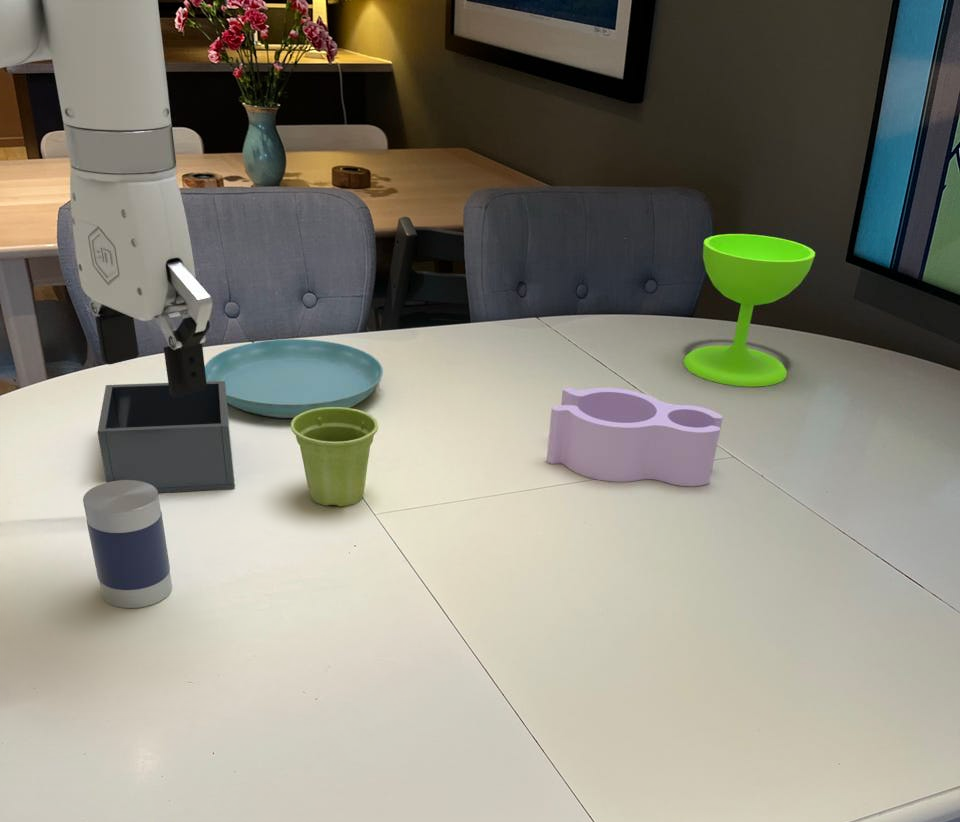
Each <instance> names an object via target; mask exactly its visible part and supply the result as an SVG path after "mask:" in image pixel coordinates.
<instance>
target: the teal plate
mask: <svg viewBox="0 0 960 822" xmlns="http://www.w3.org/2000/svg"><path fill="white" fill-rule="evenodd" d="M204 365H205V374H206V382H207V381H225V385H226V395H227V404H229V405H231V406H232V407H235V408H237V409H238V410H242V411H243V412H248V413H251V414H254V415H258V416H263V417H270V418H279V419H294V418H295V417H296V416H298V415H299V414H301V413H303V412H306V411H309V410H312V409H317V408H325V407H343V408H353V407H354V406H356V405H358V404H359V403H361V402H362V401H364V400H365V399H366V398H368V397H369V396H370V395H371V394H372V393H373V392H374V391H375V389H376V388H377V387H378V385H379V384H380V382H381V380H382V377H383V375H384V369H383V366H382V363H380V361H379V360H378V359H376V358H375V357H374V356H373V355H372V354H370V353H367V352H366V351H364V350H362V349H359V348H357V347H354V346H350V345H346V344H342V343H338V342H332V341H326V340H317V339H304V338H303V339H302V338H301V339H300V338H285V339H284V338H282V339H271V340H263V341H256V342H250V343H246V344H240V345H238V346H234V347H231V348H229V349H226V350H224V351H221V352H220V353H219V352H218V354H216V355H214V356H213V357H211V358H210V359H209V360H208V361H207V362H206V363H205V364H204Z"/></svg>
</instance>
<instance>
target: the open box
mask: <svg viewBox="0 0 960 822" xmlns="http://www.w3.org/2000/svg"><path fill="white" fill-rule="evenodd" d="M206 383H207V386H206V388H205V389H204V390H201V391H198V392H194V393H191V394H188V395H184V396H181V397H174V396H172V395H171V394H170V392H169V384H168V382H155V383H153V382H151V383H127V384H126V383H125V384H124V383H123V384H106V385H105V388H104V394H103V399H102V404H101V410H100V416H99V422H98V427H97V437H98V443H99V449H100V454H101V460H102V464H103V470H104V471H103V472H104V475H105V476H104V477H105V483H107V482H112V481H119V480H136V481H142V482H146V483H148V484H151V485H152V486H154V487H155V488H156V489H157V491H158V494H164V493H166V494H167V493H179V492H180V493H182V492H199V491H217V490H235V489H236V484H235V472H234V460H233V459H234V458H233V448H232V435H231V426H230V417H229V406H228V403H227V395H226V385H225V381H207V382H206Z"/></svg>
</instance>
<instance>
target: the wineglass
mask: <svg viewBox="0 0 960 822" xmlns="http://www.w3.org/2000/svg"><path fill="white" fill-rule="evenodd" d="M702 247H703V248H702V251H703V252H702V260H703V264H704V268H705V272H706V274H707V275H708V277H709V280H710V281H711V283H712V286H713V287H714V288H715V289H716V290H717V291H719V293H721V295H722V296H723V297H725V298H727V299H729V300H731V301H734V302H736V303H738V304H740V308H739V311H738V312H739V313H738V317H737V322H736V327H735V328H736V329H735V332H734V337H733V342H732V343H731V345H709V346H708V345H707V346H702V347H699V348H696V349H693V350H691V351H690V352H689V353H687V354H686V355H685V357H684V359H683V361H682V363H683V362H684V364H683V366H684V365H685V367H686V368H687V369H688V370H687V369H686V368H685V367H684V368H685V369H686V370H687V371H688V372H689V373H691V374H693V375H695V376H697V377H699V378H701V379H704V380H707V381H710V382H714V383H718V384H723V385H728V386H735V387H747V388H748V387H749V388H755V387H756V388H757V387H768V386H773V385H777V384H779V383H782V382H783V381H784V380H785V379H787V375H786V373H787V369H786V367H785V365H784V364H783V362H782V361H780V360H778V359H777V358H776V357H775V356H773V355H770V354H768V353H766V352H763V351H760V350H757V349H753V348H749V347H748V348H747V340H748V336H749V331H750V327H751V326H750V325H751V320H752V316H753V310H754V307H755V306H761V305H766V304H771V303H774V302H776V301H779V300H780V299H782V298H784V297H786V296H788V295H790V293H792V291H794V290H795V289H796V288H797V287H798V286H799V285H800V284H801V283H802V282H803V280H804V279H805V278H806V277H807V275H808V273H809V272H810V270H811V267H812V265H813V262H814V259H815V257H816V251H814V250H813V249H812V248H811V247H809V246H807V245H805V244H802V243H799V242H797V241H793V240H789V239H785V238H780V237H775V236H768V235H760V234H748V233H725V234H717V235H712V236H709V237H706V238H705V239H704V241H703V246H702ZM787 374H788V373H787Z"/></svg>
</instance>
